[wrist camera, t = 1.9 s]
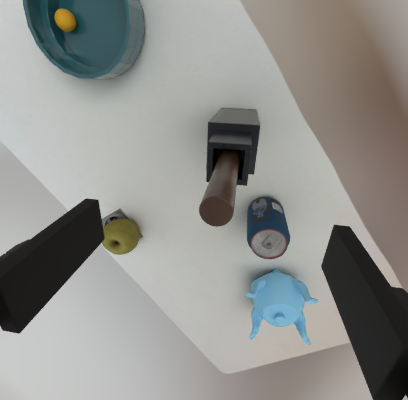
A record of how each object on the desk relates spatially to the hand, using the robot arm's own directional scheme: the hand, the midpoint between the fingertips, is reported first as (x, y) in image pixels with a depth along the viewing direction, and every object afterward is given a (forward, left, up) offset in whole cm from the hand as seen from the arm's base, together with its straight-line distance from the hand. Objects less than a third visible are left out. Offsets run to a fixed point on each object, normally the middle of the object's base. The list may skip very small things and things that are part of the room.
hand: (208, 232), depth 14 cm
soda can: (-7, +16, -34) cm, 38 cm away
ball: (+28, -15, -32) cm, 45 cm away
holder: (0, 0, -34) cm, 34 cm away
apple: (+23, +24, -34) cm, 48 cm away
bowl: (+24, -15, -34) cm, 44 cm away
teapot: (-12, +35, -34) cm, 50 cm away
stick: (0, 0, -18) cm, 18 cm away
